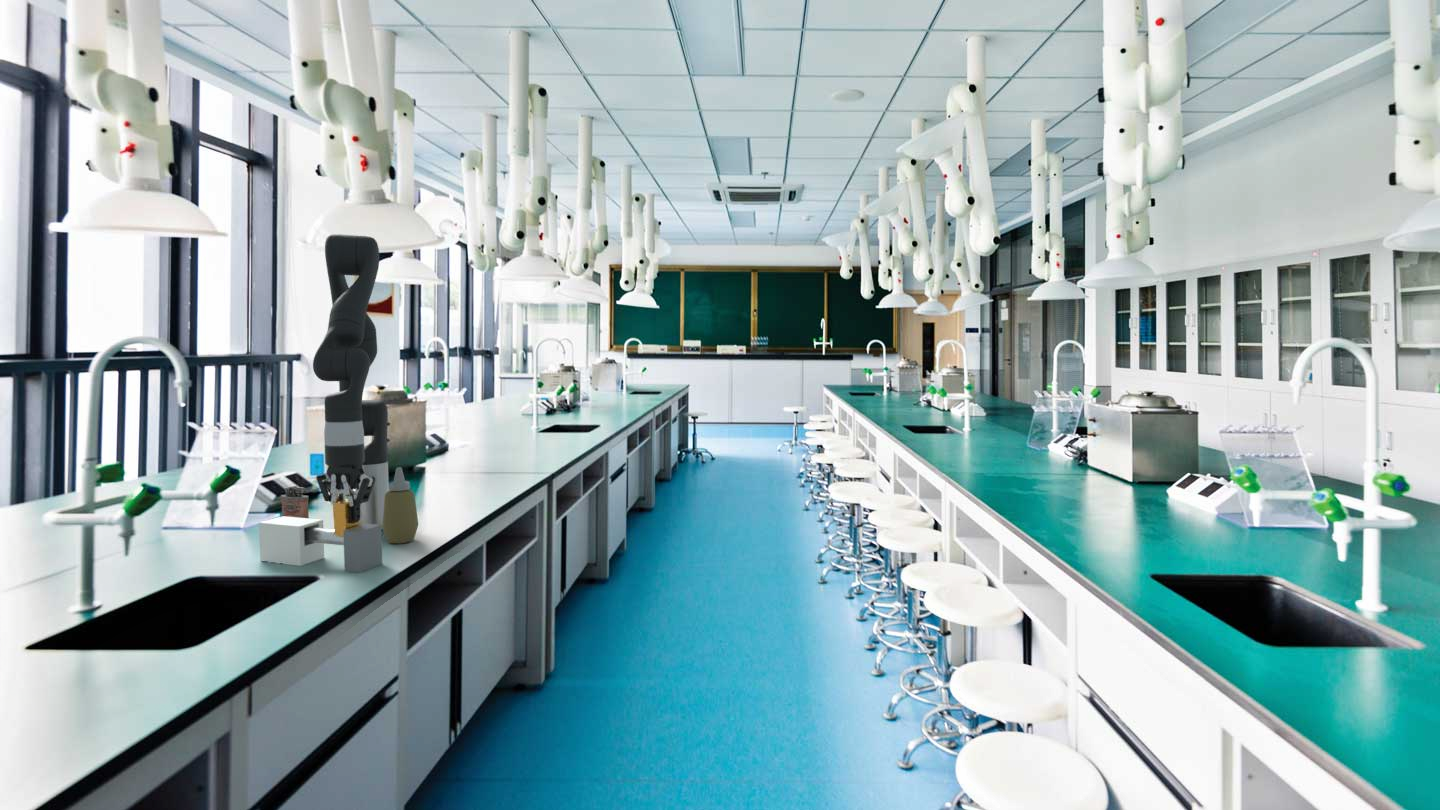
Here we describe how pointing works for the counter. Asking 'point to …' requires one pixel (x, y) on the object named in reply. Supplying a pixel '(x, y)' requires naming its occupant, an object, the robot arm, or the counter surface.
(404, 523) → the squeeze bottle
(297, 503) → the lighter
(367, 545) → the gray box
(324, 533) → the slip tube
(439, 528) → the counter surface
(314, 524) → the white box
